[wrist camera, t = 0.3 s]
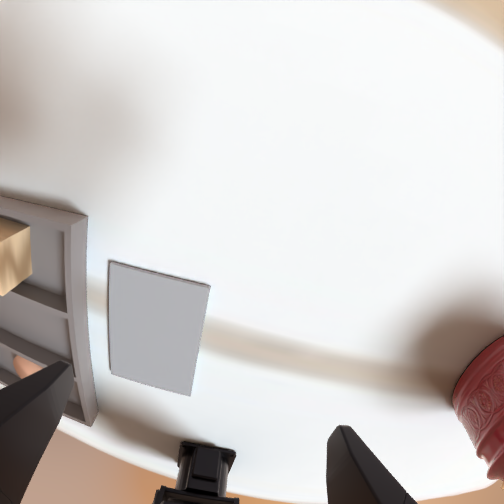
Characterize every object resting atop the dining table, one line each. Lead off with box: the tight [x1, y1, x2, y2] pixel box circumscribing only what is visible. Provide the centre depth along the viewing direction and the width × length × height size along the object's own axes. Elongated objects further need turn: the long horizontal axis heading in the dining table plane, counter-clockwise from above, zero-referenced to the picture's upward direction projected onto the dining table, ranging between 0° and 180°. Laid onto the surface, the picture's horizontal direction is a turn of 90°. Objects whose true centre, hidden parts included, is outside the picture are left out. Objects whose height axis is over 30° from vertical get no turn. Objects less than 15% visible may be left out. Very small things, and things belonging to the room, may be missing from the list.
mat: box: [109, 262, 211, 396], centre depth 25 cm, size 12×8×1 cm, turn 167°
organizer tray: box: [0, 196, 98, 427], centre depth 24 cm, size 23×16×2 cm
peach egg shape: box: [13, 355, 43, 379], centre depth 27 cm, size 5×5×1 cm
